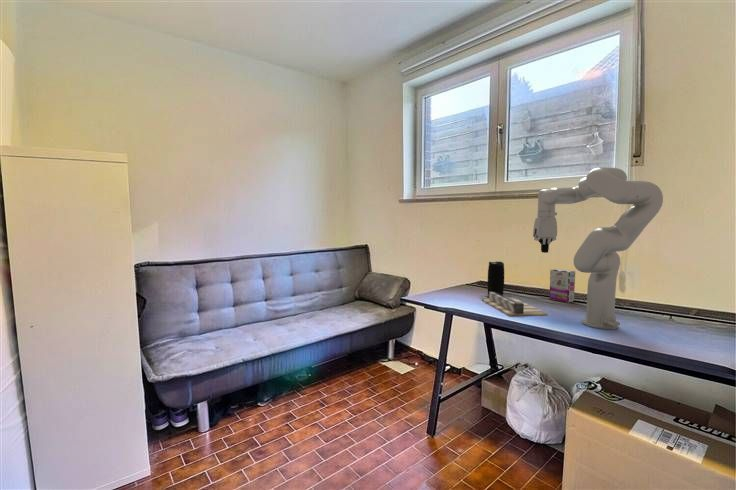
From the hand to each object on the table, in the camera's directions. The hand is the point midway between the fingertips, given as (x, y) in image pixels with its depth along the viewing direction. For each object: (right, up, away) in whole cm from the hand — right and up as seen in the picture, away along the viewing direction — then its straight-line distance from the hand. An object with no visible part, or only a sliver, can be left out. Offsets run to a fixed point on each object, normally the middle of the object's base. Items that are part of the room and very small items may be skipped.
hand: (544, 252), depth 168 cm
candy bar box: (+16, -26, +14) cm, 34 cm away
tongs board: (-16, -27, +1) cm, 31 cm away
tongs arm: (-19, -26, +1) cm, 32 cm away
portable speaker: (-16, -26, +23) cm, 38 cm away
